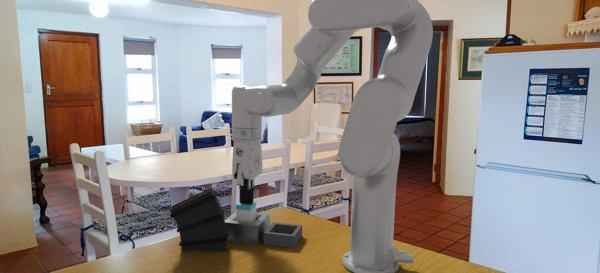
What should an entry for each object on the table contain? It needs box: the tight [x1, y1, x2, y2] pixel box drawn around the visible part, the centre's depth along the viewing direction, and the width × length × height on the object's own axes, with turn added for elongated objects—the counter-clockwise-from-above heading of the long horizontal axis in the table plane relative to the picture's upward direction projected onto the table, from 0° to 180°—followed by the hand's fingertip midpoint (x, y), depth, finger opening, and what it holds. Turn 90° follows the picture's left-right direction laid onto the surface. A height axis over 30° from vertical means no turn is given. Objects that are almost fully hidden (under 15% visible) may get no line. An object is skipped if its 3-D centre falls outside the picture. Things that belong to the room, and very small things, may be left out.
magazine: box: [169, 187, 228, 252], centre depth 100 cm, size 4×13×15 cm, turn 94°
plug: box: [235, 200, 257, 223], centre depth 109 cm, size 4×4×9 cm
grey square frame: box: [263, 221, 303, 249], centre depth 107 cm, size 8×8×3 cm
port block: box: [224, 211, 271, 246], centre depth 109 cm, size 10×10×5 cm
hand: (246, 203), depth 108 cm, fingers closed
